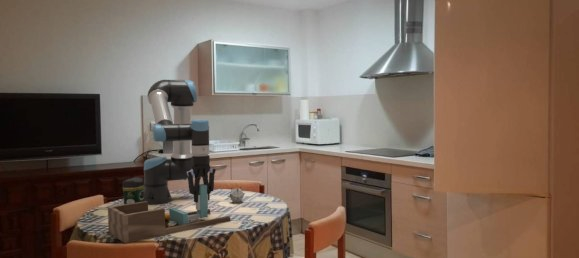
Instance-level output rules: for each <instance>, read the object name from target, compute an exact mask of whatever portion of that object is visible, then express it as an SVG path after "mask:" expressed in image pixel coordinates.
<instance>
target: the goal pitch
mask: <svg viewBox="0 0 579 258" xmlns="http://www.w3.org/2000/svg"><path fill="white" fill-rule="evenodd" d="M207 211H208V215H211V209H210V208H208V209H207ZM165 213H166V209H165V208H164V207H163V208H157V209H150V210H149V204H148V202H147V201H144V202H138V203H131V204H124V203H123V204H118V205H112V206H107V220H108V222H107V224H108V233H110V234H111V235H112V236H113V237H115V238H116V239H118V240H119V241H121V242H122V243H123V244H126V243H130V242H131V243H132V242H137V241H140V240H142V241H143V240H147V239H150V238H157V237H161V236H166V235H171V234H175V233H179V232H185V231H188V230H195V229H199V227H200V228H203V227H208V226H213V225H218V224H223V223H227V222H231V216H230V215H227V216H222V217H216V218H211V219H206V220H201V221H196V222H191V223H188V224H185V225H180V226H179V225H177V226H175V227H170V228H165ZM187 213H188V215H193V214H197V210H196V211H190V212H187Z"/></svg>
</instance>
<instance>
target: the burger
mask: <svg viewBox="0 0 579 258" xmlns="http://www.w3.org/2000/svg"><path fill="white" fill-rule="evenodd" d="M168 212H169V209H168ZM170 218H171V217H170V215H169V213H166V212H165V228H170V227H175V226H178V225H177V222H175V221H171V220H170Z"/></svg>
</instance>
